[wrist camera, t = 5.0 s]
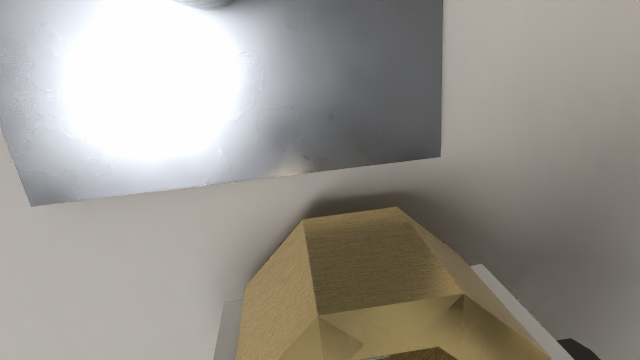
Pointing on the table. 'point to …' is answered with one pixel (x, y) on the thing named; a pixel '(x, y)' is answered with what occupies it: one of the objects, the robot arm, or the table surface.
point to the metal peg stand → (213, 90)
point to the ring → (374, 297)
